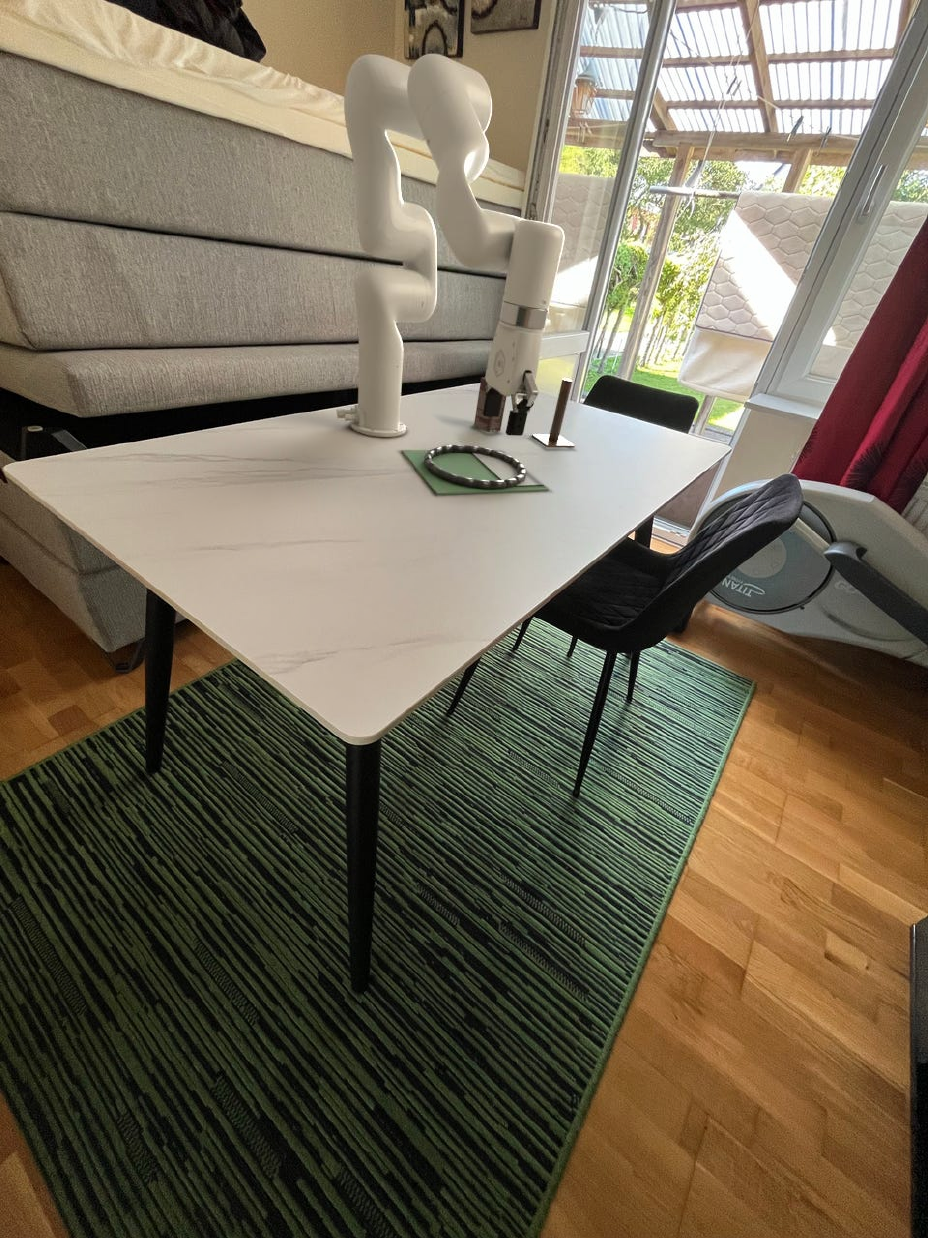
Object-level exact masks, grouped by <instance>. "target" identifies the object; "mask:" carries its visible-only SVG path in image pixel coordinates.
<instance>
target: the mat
mask: <svg viewBox="0 0 928 1238" xmlns="http://www.w3.org/2000/svg"><path fill="white" fill-rule="evenodd" d="M430 450H431V449H427V450H426V449H424V450H423V449H413V450H412V449H404V450H403V449H402V450H401V453H402V454H403V455H404V457H405V458H406V459H407V460H408V461H409V463H410V464H411V465H412V466H413V467H414V469H415V471H417V472H418V474H419V475H420V476H421V477H422V478H423V480H424V481H425V482H426V483H427V484H428V486H429V487H430V489H432V490H433V492H434V493H435V494H436V495H437V496H447V495H475V494H476V495H477V494H500V493H504V494H505V493H529V492H530V493H531V492H549V488H548V487H547V486H545V485H544V484H523V485H522V484H521V485H520V484H518V485H517V486H514V487H510V488H505V489H480V488H471V487H466V486H462V485H458V484H454V483H452V482H449V481H446V480H443V479H441V478H439V477H438V476H436V475H434V474H433V473H431V472H430V471H429V470H428V468H427V467H426V466H425V463H424V456H425V455H426V454H427V453H428V452H429V451H430ZM432 462H433V463H434V464H435V465H436V466H437V467H439V468H441V469H442V470H444V471H446V472H449V473H452V474H455V475H457V476H461V477H466V478H470V479H476V480H486V481H499V480H502V479H501V477H499V476H498V475H497V474H496V473H495V472H494V471H493V470H492V469H491V468H489V466H488V465H487V464H485V463H484V462H483V461H482V460H481V459H480V458H479V457H477V456H476V455H475V453H473V454H472V453H446V454H440V455H438V456H435V457H434V458H433V459H432Z"/></svg>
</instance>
